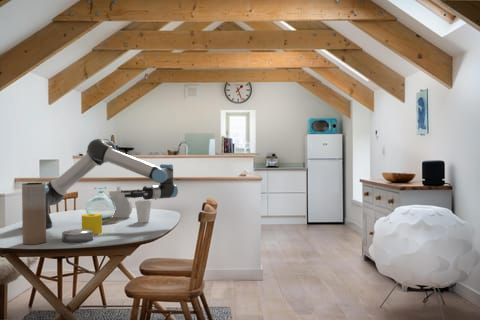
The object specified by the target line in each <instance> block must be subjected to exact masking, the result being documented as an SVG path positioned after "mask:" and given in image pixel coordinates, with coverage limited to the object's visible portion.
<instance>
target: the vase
mask: <svg viewBox="0 0 480 320" xmlns="http://www.w3.org/2000/svg"><path fill="white" fill-rule="evenodd" d="M45 185H46V182H23V183H21V208H22V210H21V216H22V217H21V218H22V219H21V221H22V222H21V223H22V225H23V229H22V244H23V245H28V246H29V245H30V246H34V245H40V244H41V245H42V244H44V243H46V241H47V229H46V199H45ZM22 225H21V226H22Z"/></svg>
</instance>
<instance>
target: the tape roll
mask: <svg viewBox="0 0 480 320" xmlns="http://www.w3.org/2000/svg"><path fill="white" fill-rule="evenodd" d="M81 229H88V230H92V231H93V236H94V235H101V234H102V233H103V214H101V213H86V214H85V213H83V214H82V215H81Z"/></svg>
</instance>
